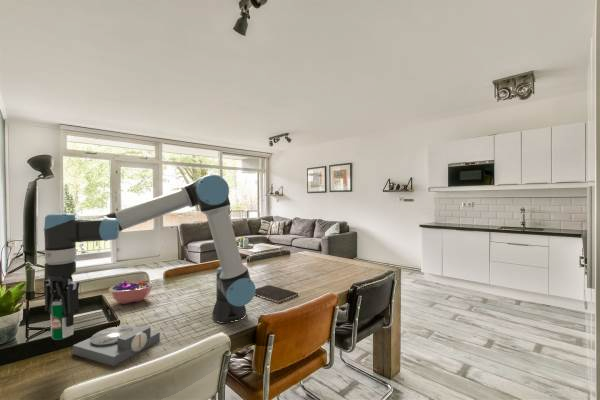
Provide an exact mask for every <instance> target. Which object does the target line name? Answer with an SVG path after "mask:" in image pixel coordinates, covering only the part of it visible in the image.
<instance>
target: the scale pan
mask: <svg viewBox="0 0 600 400" xmlns="http://www.w3.org/2000/svg"><path fill="white" fill-rule="evenodd" d="M131 331H133V328H131V327H128V326H118V325H117V327H116V326H113V327H112V326H111V327H108V328H105V329H102V330H99V331H97V332H96V333H94V334H92V336H91V337H90V338H91V339H90V343H91V344H92V345H95V346H107V345H112V344H116V343H117V342H118V338H119V337H121V336H123V335H125V334H127V333H129V332H131Z"/></svg>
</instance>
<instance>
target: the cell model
mask: <svg viewBox="0 0 600 400" xmlns="http://www.w3.org/2000/svg"><path fill="white" fill-rule="evenodd" d="M152 288H153V283H150V282H147V281H131V282H128V281H127V280H122V281H120V282H119V283H118V284H116V285H112V286H111V287H109V288H108V291H109V293H110V295H111V298H112V299H114V301H116V302H117V303H119V304H123V305H124V304H125V303H126V304H130V303H135V302H139V303H140V302H142V301H143V300H145V299H146V297H148V296H149V295H150V292H151V290H152Z"/></svg>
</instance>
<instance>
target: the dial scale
mask: <svg viewBox="0 0 600 400" xmlns="http://www.w3.org/2000/svg"><path fill="white" fill-rule="evenodd" d="M118 325H119V326H128V327H131V328H133V331H131V332H129V333H127V334H125V335H123V336H121V337H119V338H118V342H117V343H116V344H112V345H107V346H95V345H92V344H91V343H90V339H91V337H89V338H86V339H85V340H82V341H79V342H77V343H75V344H73V345H72V355H75V356H77V357H81V358H85V359H87V360H91V361H95V362H97V363H100V364H101V363H102V364H105V365H109V366H111V367H115V366H117V365H118V364H119V365H120V363H122V362H124V361H126V360H128V359H130V358H131V357H133V356H134V355H136V354H138V353H139V352H142V351H144V350H146V349H147V348H149V347H150V346H152V345H154V344H155V343H157V342H159V341H160V339H161V338H160V337H161V333H160V331H155V330H152V329H151V326H146V325H141V326H140V327H138V326H135V325H134V326H133V325H128V324H124V323H121V324H118Z"/></svg>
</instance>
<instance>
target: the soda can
mask: <svg viewBox="0 0 600 400" xmlns="http://www.w3.org/2000/svg"><path fill="white" fill-rule="evenodd" d="M61 316H64V312H63V307H62V301H61V298H59V299H55V300H53V303H52V304H51V318H50V330H51V329H52V335H51V339H53V340H54V341H59V340H60V341H61V340H65V339H67V338H69V337H70V336H68V337H66V338H63V337H62V317H61Z"/></svg>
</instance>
